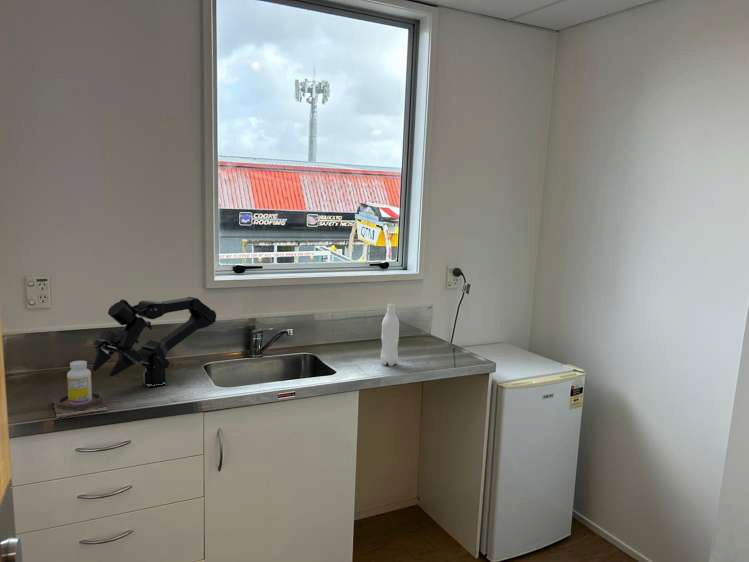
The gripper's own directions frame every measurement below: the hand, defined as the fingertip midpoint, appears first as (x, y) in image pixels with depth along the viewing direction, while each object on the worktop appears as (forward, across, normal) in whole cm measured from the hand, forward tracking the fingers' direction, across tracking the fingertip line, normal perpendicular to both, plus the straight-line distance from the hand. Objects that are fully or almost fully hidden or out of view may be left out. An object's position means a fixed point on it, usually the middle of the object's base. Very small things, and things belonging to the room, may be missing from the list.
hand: (101, 373), depth 187 cm
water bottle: (-58, +53, +72) cm, 107 cm away
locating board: (+12, 0, +1) cm, 12 cm away
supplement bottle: (+11, 0, 0) cm, 11 cm away
